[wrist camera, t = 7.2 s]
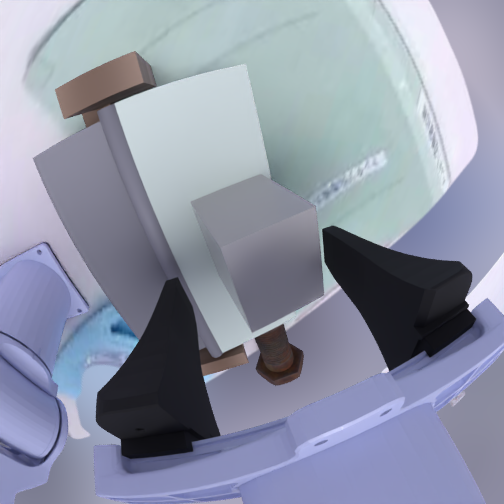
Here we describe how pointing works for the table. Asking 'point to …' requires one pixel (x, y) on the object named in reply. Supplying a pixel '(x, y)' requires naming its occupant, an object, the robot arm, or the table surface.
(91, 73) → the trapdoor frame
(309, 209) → the grey cube
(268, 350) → the bolt
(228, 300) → the trapdoor
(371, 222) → the table surface
